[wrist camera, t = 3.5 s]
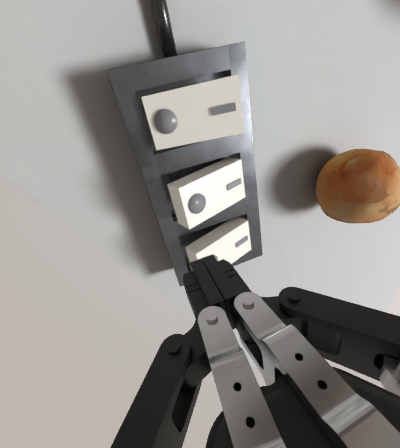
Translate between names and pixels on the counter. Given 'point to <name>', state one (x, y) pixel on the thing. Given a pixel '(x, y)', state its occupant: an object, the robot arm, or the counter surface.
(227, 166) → the rocker middle
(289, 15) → the counter surface
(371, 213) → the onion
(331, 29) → the counter surface
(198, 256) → the rocker
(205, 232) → the power strip
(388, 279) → the counter surface
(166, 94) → the rocker
